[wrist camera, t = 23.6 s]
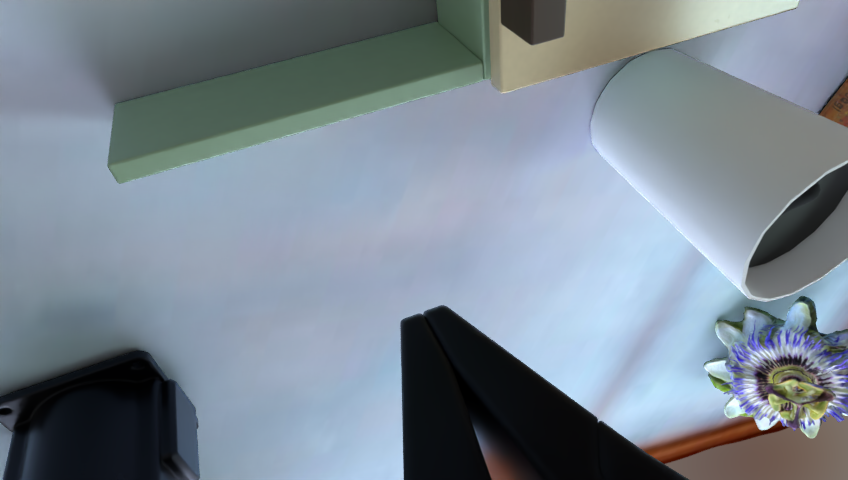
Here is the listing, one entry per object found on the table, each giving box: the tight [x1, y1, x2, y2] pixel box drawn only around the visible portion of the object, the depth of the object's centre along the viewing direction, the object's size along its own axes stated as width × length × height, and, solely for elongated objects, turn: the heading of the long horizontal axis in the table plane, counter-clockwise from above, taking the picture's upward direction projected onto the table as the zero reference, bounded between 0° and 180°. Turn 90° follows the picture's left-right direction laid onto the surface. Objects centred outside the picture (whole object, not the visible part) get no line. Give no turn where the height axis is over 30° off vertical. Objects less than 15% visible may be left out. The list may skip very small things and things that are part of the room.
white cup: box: [590, 49, 848, 302], centre depth 23 cm, size 7×7×10 cm
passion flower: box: [704, 296, 848, 438], centre depth 43 cm, size 11×11×12 cm
